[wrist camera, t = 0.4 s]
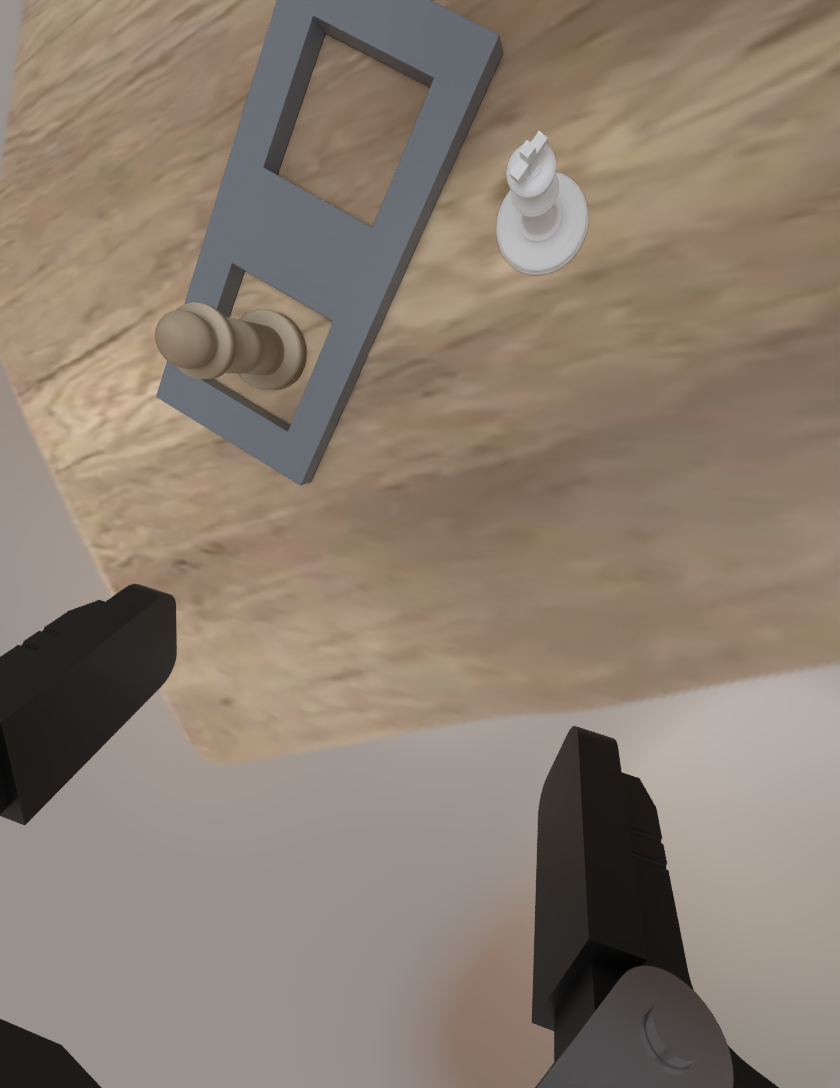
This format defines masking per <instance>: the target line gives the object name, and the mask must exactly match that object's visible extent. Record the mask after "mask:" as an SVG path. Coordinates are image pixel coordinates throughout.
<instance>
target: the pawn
mask: <svg viewBox="0 0 840 1088" xmlns="http://www.w3.org/2000/svg"><path fill="white" fill-rule="evenodd" d="M155 340H156V344H157V347H158V349H159V351H160V353H161V354H162V356H163V357H164V358H165V359H166V360H167V361H169V362H170V363H172V364H173V365H175V366H177V367H178V369H179V370H180V371H182V372H183V373H184V374H186V375H187V376H189V377H192V378H195V379H215V378H218V377H220V376H221V375H223V374H224V373H239V375H240V376H241V377H242V378H243V379H244V380H245V381H246V382H247V383H248V384H250V385H252V386H254V387H256V388H259V389H282V388H286V387H288V386H290V385H291V384H293V383H294V382H295V381H296V380H297V379H298V378H299V376H300V374H301V373H302V371H303V368H304V365H305V361H306V346H305V342H304V338H303V336H302V333H301V332H300V330H299V328H298V327H297V325H296V324H295V323H294V322H293V321H292V320H291V319H289V318H288V317H286V316H284V315H282V314H279V313H276V312H272V311H268V310H255V311H252V312H249V313H247V314H246V315H244V316H243V317H242V318H241V319H240V320H238V319H233V318H228V317H225V316H224V315H223V314H222V313H221V312H220V311H219V310H218V309H216V308H214V307H212V306H210V305H206V304H202V303H197V302H192V303H187V304H184V305H182V306H180V307H179V308H178V309H177V310H176V311H172V312H169V313H167V314H166V315H164V316H163V317H162V318H161V319H160V321H159V322H158V324H157V327H156V330H155Z"/></svg>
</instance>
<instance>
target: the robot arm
mask: <svg viewBox="0 0 840 1088" xmlns="http://www.w3.org/2000/svg"><path fill="white" fill-rule="evenodd" d="M176 654H177V645H176V602H175V599H174V597H173V596H172V595H170V594H167V593H164V592H161V591H158V590H154V589H151V588H148V587H145V586H142V585H139V584H132V585H129V586H127V587H126V588H124V589H123V590H121V591H120V592H119V593H117V594H116V595H114V596H113V597H112V598H110V599H109V600H107V601H106V602H104V601H101V600H98V601H95V602H92V603H89V604H87V605H84V606H81V607H78V608H76V609H73V610H70V611H68V612H67V613H65V614H64V615H62V616H61V617H59V618H58V619H56V620H55V621H53V622H52V623H50V624H49V625H47V626H46V627H45V628H44V630H43V631H42V632H41V631H38V632H37V633H35V634H34V635H32V636H31V637H29V638H28V639H26V640H25V641H24V642H23V644H22V645H21V646H20V645H17V646H16V647H14V648H13V649H11V650H10V651H8V652H7V653H5V654H4V655H2V656H1V657H0V816H2V817H4V818H7V819H10V820H12V821H15V822H17V823H20V824H23V825H26V824H27V823H28V822H29V821H30V820H31V819H32V818H33V817H34V816H35V814H37V812H39V811H40V810H41V808H42V807H43V806H44V805H45V804H46V803H47V802H48V801H49V800H50V799H51V798H52V797H53V796H54V795H55V794H56V793H57V792H58V791H59V790H60V789H61V788H62V787H63V786H64V785H65V784H66V783H67V782H68V781H69V780H70V779H71V778H72V777H73V776H74V775H75V774H76V773H77V772H78V771H79V770H80V769H81V768H82V767H83V766H84V765H85V764H86V763H87V762H88V760H90V758H91V757H92V756H93V755H94V754H95V753H96V752H97V751H98V750H99V749H100V748H101V747H102V746H103V745H104V744H105V743H106V742H107V741H108V740H109V739H110V738H111V737H112V736H113V735H114V734H115V733H116V732H117V731H118V730H119V729H120V728H121V727H122V726H123V725H124V724H125V723H126V722H127V721H128V720H129V719H130V718H131V717H132V716H133V715H134V714H135V712H137V711H138V710H139V709H140V707H142V706H143V704H144V703H145V702H146V701H147V700H148V699H149V698H150V697H151V696H152V695H153V694H154V693H155V692H156V691H157V690H158V689H159V688H160V687H161V686H162V685H163V684H164V683H165V681H166V680H167V679H168V677H169V675H170V674H171V672H172V669H173V667H174V664H175V661H176ZM661 839H662V835H661V830H660V825H659V820H658V814H657V809H656V807H655V805H654V803H653V801H652V800H651V798H650V796H649V794H648V793H647V791H646V789H645V788H644V786H643V784H642V782H641V780H640V779H639V778H637V777H634V776H631V775H628V774H625V773H622V772H621V765H620V758H619V751H618V745H617V742H616V740H615V739H614V738H610V737H607V736H604V735H601V734H598V733H595V732H592V731H589V730H586V729H583V728H579V727H576V726H573V727H572V728H571V729H570V730H569V732H568V734H567V736H566V738H565V740H564V742H563V744H562V747H561V749H560V751H559V753H558V755H557V757H556V759H555V761H554V763H553V765H552V767H551V770H550V772H549V774H548V776H547V778H546V780H545V783H544V786H543V789H542V793H541V798H540V804H539V811H538V838H537V870H536V871H537V872H536V905H535V935H534V969H533V1000H532V1004H533V1005H532V1023H534V1024H537V1025H539V1026H542V1027H544V1028H547V1029H550V1030H552V1031H554V1063H553V1065H552V1066H551V1067H550V1069H549V1070H548V1071H547V1073H546V1074H545V1075H544V1077H543V1078H542V1079H541V1080H540V1082H539V1083H538V1084H537V1086H536V1087H535V1088H779V1087H777V1086H776V1085H775V1084H773V1083H772V1082H771V1081H769V1080H768V1079H767V1078H765V1077H764V1076H763V1075H761V1074H760V1073H758V1072H757V1071H756V1070H755V1069H753V1068H752V1067H751V1066H750V1065H748V1064H747V1063H746V1062H745V1061H743V1060H742V1059H741V1058H740V1057H739V1056H738V1055H737V1054H736V1053H735V1052H734V1051H733V1050H732V1049H731V1048H730V1047H729V1046H728V1045H727V1042H726V1039H725V1037H724V1035H723V1033H722V1030H721V1028H720V1026H719V1024H718V1023H717V1021H716V1019H715V1017H714V1016H713V1014H712V1013H711V1011H710V1010H709V1009H708V1007H707V1005H706V1004H705V1003H704V1002H703V1001H702V999H701V998H700V997H699V996H698V995H697V993H696V992H694V990H693V987H692V985H691V981H690V977H689V973H688V968H687V964H686V958H685V953H684V948H683V943H682V938H681V932H680V927H679V922H678V917H677V912H676V907H675V902H674V897H673V891H672V886H671V881H670V876H669V871H668V870H666V865H667V861H666V856H665V851H664V846H663V844H661ZM0 1088H101V1087H100V1086H99V1085H98V1084H97V1082H96V1081H95V1080H94V1079H93V1078H92V1077H91V1076H90V1075H89V1074H88V1073H87V1072H86V1071H85V1070H84V1069H83V1068H82V1066H81V1065H79V1063H78V1062H77V1061H76V1060H75V1059H74V1058H73V1057H72V1056H71V1055H70V1054H69V1053H68V1051H67V1050H66V1049H65V1048H64V1047H63V1046H62V1045H60V1044H58V1043H55V1042H53V1041H51V1040H48V1039H46V1038H44V1037H41V1036H39V1035H37V1034H34V1033H32V1032H30V1031H27V1030H25V1029H23V1028H20V1027H18V1026H15V1025H13V1024H11V1023H9V1022H6V1021H4V1020H1V1019H0Z"/></svg>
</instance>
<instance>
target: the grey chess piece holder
mask: <svg viewBox="0 0 840 1088" xmlns="http://www.w3.org/2000/svg"><path fill="white" fill-rule="evenodd" d="M325 33H326V34H328V35H330V36H332V37H334V38H335V39H337V40H339V41H341V42H343V43H345V44H347V45H349V46H351V47H353V48H355V49H357V50H359V51H361V52H363V53H365V54H366V55H368V56H370V57H372V58H374V59H376V60H378V61H380V62H382V63H384V64H386V65H388V66H390V67H392V68H394V69H396V70H397V71H399V72H401V73H403V74H405V75H407V76H409V77H411V78H413V79H415V80H417V81H419V82H421V83H423V84H425V85H427V86H428V87H430V89H429V92H428V94H427V97H426V99H425V101H424V104H423V106H422V109H421V111H420V113H419V116H418V118H417V121H416V123H415V126H414V128H413V130H412V133H411V135H410V138H409V140H408V143H407V145H406V147H405V150H404V152H403V155H402V157H401V159H400V162H399V164H398V167H397V169H396V172H395V174H394V176H393V179H392V181H391V184H390V186H389V188H388V191H387V193H386V196H385V198H384V201H383V203H382V205H381V208H380V210H379V213H378V215H377V218H376V220H375V222H374V225H373V227H370V226H368V225H367V224H365V223H363V222H361V221H359V220H358V219H356V218H354V217H352V216H350V215H349V214H347V213H345V212H343V211H341V210H339V209H338V208H336V207H334V206H332V205H330V204H329V203H327V202H325V201H323V200H321V199H320V198H318V197H316V196H314V195H312V194H310V193H309V192H307V191H305V190H303V189H301V188H300V187H298V186H296V185H294V184H292V183H290V182H289V181H287V180H285V179H283V178H281V177H280V176H278V175H277V174H278V171H279V168H280V165H281V162H282V159H283V156H284V153H285V151H286V148H287V145H288V142H289V139H290V136H291V133H292V130H293V127H294V124H295V121H296V118H297V115H298V112H299V109H300V106H301V103H302V100H303V97H304V94H305V91H306V89H307V86H308V83H309V80H310V77H311V74H312V71H313V68H314V65H315V62H316V59H317V56H318V53H319V50H320V47H321V44H322V41H323V38H324V35H325ZM502 54H503V50H502V45H501V40H500V36H499V34H497V33H495V32H493V31H491V30H489V29H487V28H485V27H483V26H481V25H479V24H477V23H475V22H473V21H471V20H469V19H467V18H465V17H463V16H461V15H459V14H457V13H455V12H453V11H451V10H449V9H447V8H445V7H443V6H441V5H439V4H437V3H435V2H433V1H431V0H277V2H276V5H275V8H274V12H273V15H272V18H271V22H270V25H269V28H268V31H267V35H266V38H265V41H264V45H263V48H262V51H261V54H260V58H259V61H258V64H257V68H256V71H255V74H254V77H253V81H252V84H251V87H250V91H249V94H248V97H247V100H246V104H245V107H244V110H243V114H242V117H241V120H240V123H239V127H238V130H237V133H236V136H235V140H234V143H233V146H232V150H231V153H230V156H229V159H228V163H227V166H226V169H225V173H224V176H223V179H222V182H221V186H220V189H219V192H218V196H217V199H216V202H215V205H214V209H213V212H212V215H211V219H210V222H209V225H208V228H207V232H206V235H205V238H204V242H203V245H202V248H201V251H200V255H199V258H198V261H197V264H196V268H195V271H194V274H193V278H192V281H191V284H190V287H189V291H188V294H187V297H186V301H185V304H187V303H192V302H197V303H202V304H206V305H210V306H212V307H214V308H216V309H218V310H219V311H220V312H221V313H222V314H223V315H224V316H225V317H228V318H229V316H230V313H231V310H232V307H233V304H234V301H235V298H236V295H237V292H238V289H239V286H240V283H241V280H242V277H243V275H244V272H245V271H247V272H249V273H250V274H252V275H254V276H256V277H257V278H259V279H261V280H262V281H264V282H266V283H268V284H269V285H271V286H273V287H275V288H276V289H278V290H280V291H282V292H283V293H285V294H287V295H289V296H290V297H292V298H294V299H295V300H297V301H299V302H301V303H302V304H304V305H306V306H308V307H309V308H311V309H313V310H315V311H316V312H318V313H320V314H322V315H323V316H325V317H327V318H328V319H330V320H332V321H334V322H333V324H332V326H331V329H330V331H329V334H328V336H327V338H326V341H325V343H324V346H323V348H322V351H321V353H320V355H319V358H318V360H317V363H316V365H315V368H314V370H313V372H312V375H311V377H310V380H309V382H308V384H307V387H306V389H305V392H304V394H303V397H302V399H301V401H300V404H299V406H298V409H297V411H296V413H295V416H294V418H293V421H292V423H291V426H290V425H289V424H287V423H285V422H284V421H282V420H281V419H279V418H277V417H276V416H274V415H272V414H271V413H269V412H267V411H266V410H264V409H262V408H261V407H259V406H257V405H256V404H254V403H252V402H251V401H249V400H247V399H246V398H244V397H242V396H241V395H239V394H237V393H236V392H234V391H232V390H231V389H229V388H227V387H226V386H224V385H222V384H221V383H219V382H217V381H216V380H214V379H195V378H192V377H189V376H187V375H186V374H184V373H183V372H182V371H180V370H179V369H178V367H177V366H175V365H173V364H172V363H170V362H169V361H167V363H166V366H165V370H164V373H163V376H162V379H161V383H160V386H159V389H158V393H157V396H156V397H157V398H159V399H161V400H162V401H164V402H165V403H167V404H169V405H170V406H172V407H174V408H175V409H177V410H179V411H180V412H182V413H183V414H185V415H187V416H188V417H190V418H192V419H193V420H195V421H196V422H198V423H200V424H201V425H203V426H205V427H206V428H208V429H209V430H211V431H213V432H214V433H216V434H218V435H219V436H221V437H222V438H224V439H226V440H227V441H229V442H231V443H232V444H234V445H235V446H237V447H239V448H240V449H242V450H244V451H245V452H247V453H249V454H250V455H252V456H253V457H255V458H257V459H258V460H260V461H262V462H263V463H265V464H266V465H268V466H270V467H271V468H273V469H275V470H276V471H278V472H279V473H281V474H283V475H284V476H286V477H288V478H289V479H291V480H292V481H294V482H296V483H297V484H299V485H303V484H306V483H309V482H311V480H312V478H313V476H314V474H315V471H316V469H317V467H318V465H319V462H320V460H321V458H322V456H323V453H324V451H325V449H326V447H327V445H328V442H329V440H330V438H331V436H332V433H333V431H334V429H335V427H336V424H337V422H338V420H339V418H340V415H341V413H342V411H343V409H344V407H345V404H346V402H347V400H348V398H349V395H350V393H351V391H352V389H353V386H354V384H355V382H356V380H357V378H358V375H359V373H360V371H361V369H362V366H363V364H364V362H365V360H366V357H367V355H368V353H369V351H370V349H371V346H372V344H373V342H374V340H375V337H376V335H377V333H378V331H379V328H380V326H381V324H382V322H383V319H384V317H385V315H386V313H387V311H388V308H389V306H390V304H391V302H392V299H393V297H394V295H395V293H396V290H397V288H398V286H399V284H400V282H401V279H402V277H403V275H404V273H405V270H406V268H407V266H408V264H409V261H410V259H411V257H412V255H413V252H414V250H415V248H416V246H417V244H418V241H419V239H420V237H421V235H422V232H423V230H424V228H425V226H426V223H427V221H428V219H429V217H430V215H431V212H432V210H433V208H434V206H435V203H436V201H437V199H438V197H439V194H440V192H441V190H442V188H443V185H444V183H445V181H446V179H447V177H448V174H449V172H450V170H451V168H452V165H453V163H454V161H455V159H456V156H457V154H458V152H459V150H460V148H461V145H462V143H463V141H464V139H465V136H466V134H467V132H468V130H469V127H470V125H471V123H472V121H473V119H474V116H475V114H476V112H477V110H478V107H479V105H480V103H481V101H482V98H483V96H484V94H485V92H486V89H487V87H488V85H489V83H490V81H491V78H492V76H493V74H494V72H495V69H496V67H497V65H498V63H499V60H500V58H501V56H502Z"/></svg>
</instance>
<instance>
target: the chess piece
mask: <svg viewBox="0 0 840 1088" xmlns="http://www.w3.org/2000/svg"><path fill="white" fill-rule="evenodd" d="M547 144H548V138H547V137H546V136H545V135H544V134H543V133H541V132H540V131H538V133H537V134H536V136H535V137H534V139H533V140H532V141H531V142H529V141H528V140H526V141H525V143H524V144H523V145H521V146H520V147H519V148H517V149H516V150H515V152H514V153H513V154H512V156H511V158H510V160H509V162H508V165H507V172H506V176H507V182H508V185H509V187H510V189H511V190H510V191H509V192H508V194H507V195H506V197H505V198H504V200H503V202H502V204H501V207H500V209H499V213H498V217H497V225H496V235H497V242H498V246H499V249H500V251H501V253H502V255H503V257H504V258H505V260H506V261H507V262H508V263H509V264H510V265H511V266H512V267H513V268H515V269H516V270H518V271H520V272H523V273H526V274H530V275H543V274H548V273H551V272H554V271H556V270H558V269H560V268H561V267H563V266H564V265H566V264H567V263H568V262H569V261H570V260H571V259H572V258H573V257H574V256H575V255H576V253H577V252H578V250H579V249H580V247H581V245H582V243H583V241H584V239H585V236H586V233H587V229H588V222H589V214H588V207H587V203H586V200H585V197H584V195H583V193H582V191H581V189H580V188H579V186H578V185H577V184H576V183H575V182H574V181H573V180H572V179H571V178H569V177H568V176H566V175H564V174H562V173H559V172H556V159H555V156H554V153H553V151H552V150H551V149H550V147H549V146H547Z"/></svg>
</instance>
